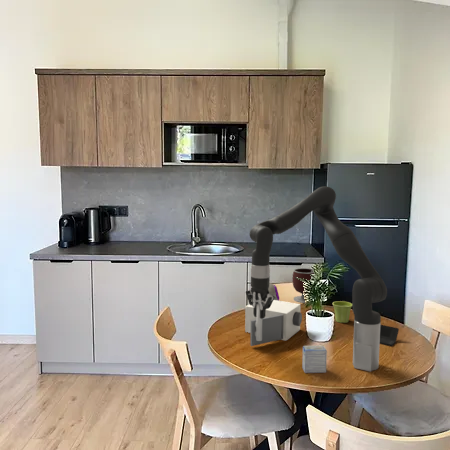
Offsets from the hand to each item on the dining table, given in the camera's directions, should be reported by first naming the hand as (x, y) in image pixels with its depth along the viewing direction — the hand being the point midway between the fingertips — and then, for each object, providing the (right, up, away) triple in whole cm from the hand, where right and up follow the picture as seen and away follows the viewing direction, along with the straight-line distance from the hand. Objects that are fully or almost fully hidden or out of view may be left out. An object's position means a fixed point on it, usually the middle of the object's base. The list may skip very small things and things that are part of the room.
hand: (259, 317), depth 175 cm
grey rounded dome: (+8, -8, +52) cm, 53 cm away
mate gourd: (+32, -6, +72) cm, 79 cm away
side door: (+5, -12, +5) cm, 14 cm away
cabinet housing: (+8, -11, +23) cm, 27 cm away
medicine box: (+19, -16, -17) cm, 30 cm away
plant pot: (+43, -10, +36) cm, 57 cm away
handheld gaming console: (+54, -13, +12) cm, 57 cm away
